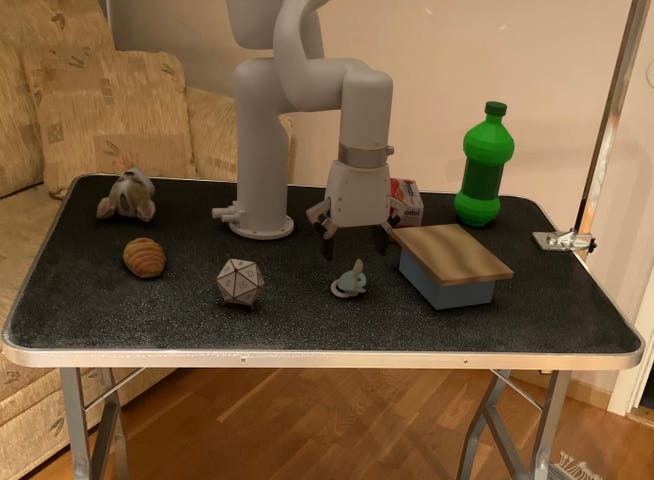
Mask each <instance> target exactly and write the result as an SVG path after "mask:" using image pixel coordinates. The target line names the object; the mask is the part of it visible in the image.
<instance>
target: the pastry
mask: <svg viewBox="0 0 654 480" xmlns="http://www.w3.org/2000/svg"><path fill="white" fill-rule="evenodd" d="M122 259H123V262H124V264H125V266H126V267H127V269H128V270H130V271H131V272H132V274H133V275H134V276H136V277H139V278H141V279H146V278H151V277H152V278H153V277H158V276H160V275H161V273H162V272H163V270H164V268H165V266H166V265H165V264H166V261H167V257H166V256H165V254H164V248H163V247H162V246H161V245H160V244H159V243H157V242H155V241H154V240H153V239H151V238H148V237H138V238H135V239H134V240H130V242H128V243H127V244H126V246H125V248H124V250H123V255H122Z"/></svg>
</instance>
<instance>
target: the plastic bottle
mask: <svg viewBox="0 0 654 480" xmlns="http://www.w3.org/2000/svg"><path fill="white" fill-rule="evenodd" d="M507 110H508V105H507V104H506V103H503V102H501V101H495V100H490V101H489V100H488V101H486V102H485V106H484V114H486V115H485V120H483V121H481V122H480V123H478V124H476V125H475V126H473V127H472V128H470V129H468V130H467V131H466V133H465V135H464V136H463V141H462V150H463V153H464V155H465V156H466V159H465V165H464V170H463V177H462V182H461V188H460V190H459V191H458V192H457V193H456V195H455V197H454V202H453V204H454V209H455V211H456V214H457V216H458V217H459V218H460V219H461V221H462V223H464V224H466V225H469V226H473V227H484V226H485V225H486V224H488V223H489V222H491V221H492V220H494V219H495V218H496V217H497V216H498V214H499V213H500V211H501V201H500V198H499V194H500V193H499V192H500V190H501V189H500V188H501V183H502V179H503V175H504V174H503V173H504V169H505V164H506V163H508V162H509V161H510V160H512V158H513V155H514V152H515V147H516V145H515V140H514V138H513V137H512V134H510V132H509V131H508V129H507V128H506V126H505V125H504V124H503V123H502V121H503V117H505V116H506V115H507Z"/></svg>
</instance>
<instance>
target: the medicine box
mask: <svg viewBox="0 0 654 480" xmlns="http://www.w3.org/2000/svg"><path fill="white" fill-rule="evenodd" d="M390 185H391V196H390V197H392V198H394V199H396V200H398V201H400V202H402V203H403V204H404V205H406V206H407V209H406V211H405V213H404V214H403V216H402V217H401V221H400V222H399V223H398V224H397V225H396V226H395V227H394V228H393V229H399V228H411V227H422V222H423V218H424V217H423V216H424V209H425V206H424V203H423V200H422V197H421V195H420V194H421V193H420V191H419V188H418V184H417V182H416V180H415V179H406V178H397V177H390ZM394 210H395V208H393V207H391V206H390V211H389V216H390V215H391V214H392V213H394ZM377 227H380V225H379V224H378V225H376V228H377ZM389 242H390V243H391V242H393V243H395V242H396V241H395V240H394V239H393V238H392V237H391V236H390V234H389Z"/></svg>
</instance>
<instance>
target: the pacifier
mask: <svg viewBox="0 0 654 480" xmlns="http://www.w3.org/2000/svg"><path fill="white" fill-rule="evenodd" d="M363 270H364V263H363V260H362V259H360V258H357V260H356V261H355V263H354V266H353V268H352V269H351V270H349V271H346V272H344V273H343V274H342V275H341V276H340V277H339V278H338V279H336V280H334V281H333V282H332V283H331V284H330V285H331V286H330V291H331V293H332V294H333V295H335V296H336V297H338V298H342V299H344V298H350V297H356V296H358V295H359V294H363V293H366V289H365V288H364V287H365V286H366V284H367V278H366V276H365V274H364V273H363ZM337 287H338V289H340V290H342V291H344V292H341V291H339V290H338V289H337Z"/></svg>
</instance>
